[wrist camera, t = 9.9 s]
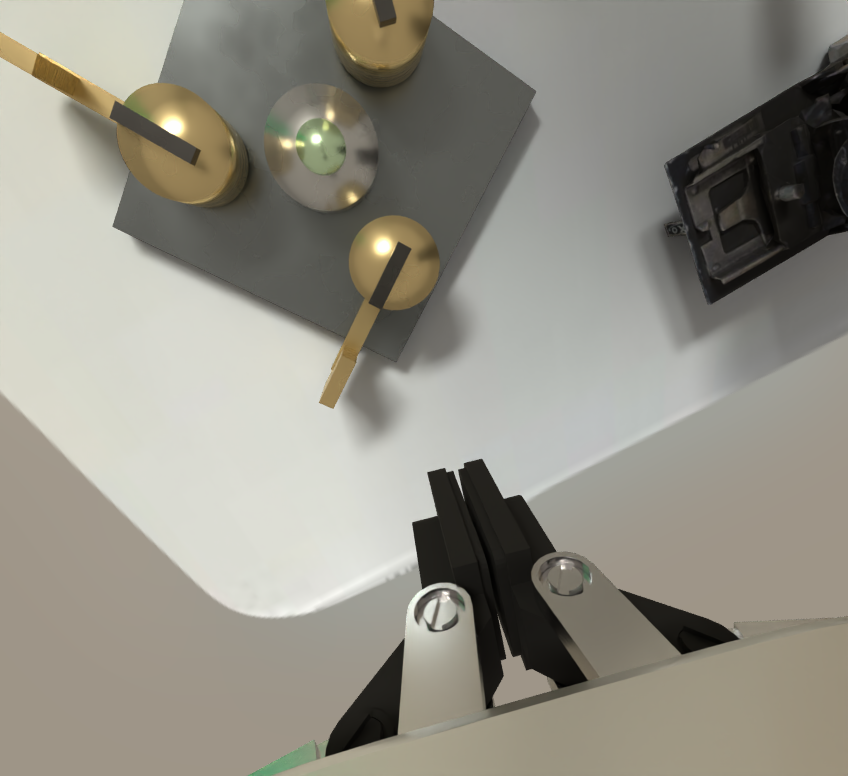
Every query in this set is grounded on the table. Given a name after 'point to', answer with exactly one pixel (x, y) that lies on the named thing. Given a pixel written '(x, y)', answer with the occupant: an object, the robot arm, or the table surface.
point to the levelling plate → (408, 130)
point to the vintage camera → (766, 181)
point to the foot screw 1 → (156, 132)
